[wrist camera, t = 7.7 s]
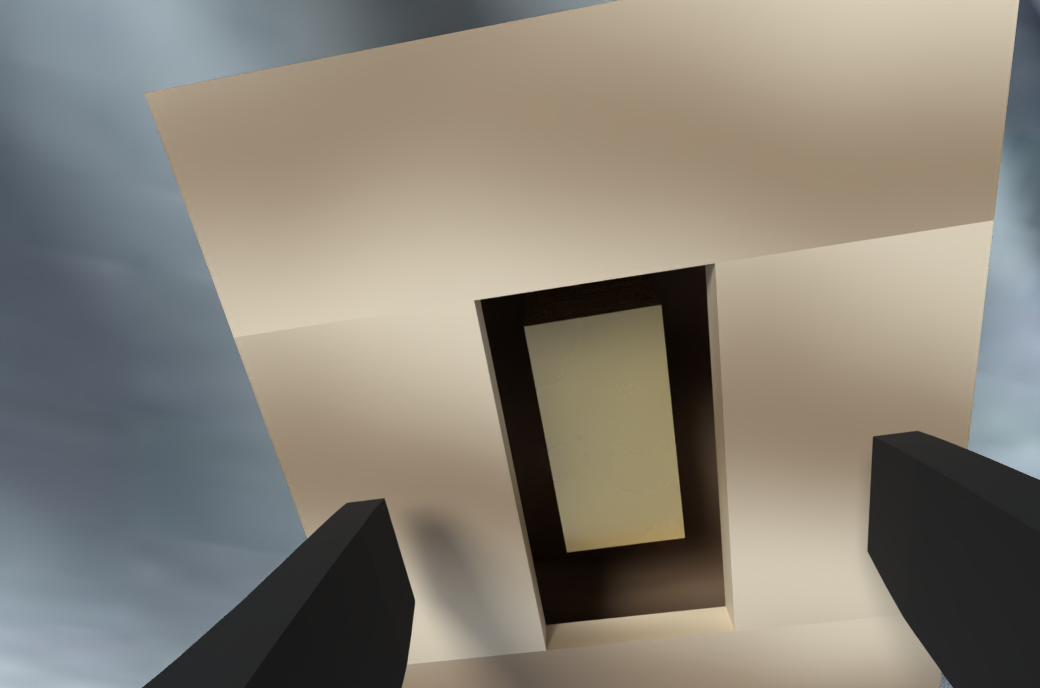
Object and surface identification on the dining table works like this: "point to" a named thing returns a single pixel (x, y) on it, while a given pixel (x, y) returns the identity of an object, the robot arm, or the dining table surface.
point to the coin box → (603, 256)
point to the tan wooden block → (606, 411)
